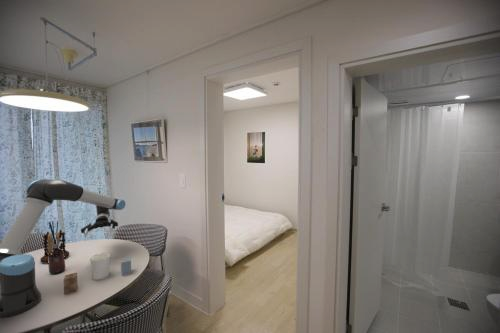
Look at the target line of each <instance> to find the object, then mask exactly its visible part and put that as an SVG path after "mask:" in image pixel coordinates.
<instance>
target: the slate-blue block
mask: <svg viewBox="0 0 500 333" xmlns="http://www.w3.org/2000/svg"><path fill="white" fill-rule="evenodd" d="M131 261H132V260H131V257H125V258H121V259H120V265H121V266H120V270H121V276H125V275H126V276H127V275H130V274H132V262H131Z"/></svg>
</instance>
